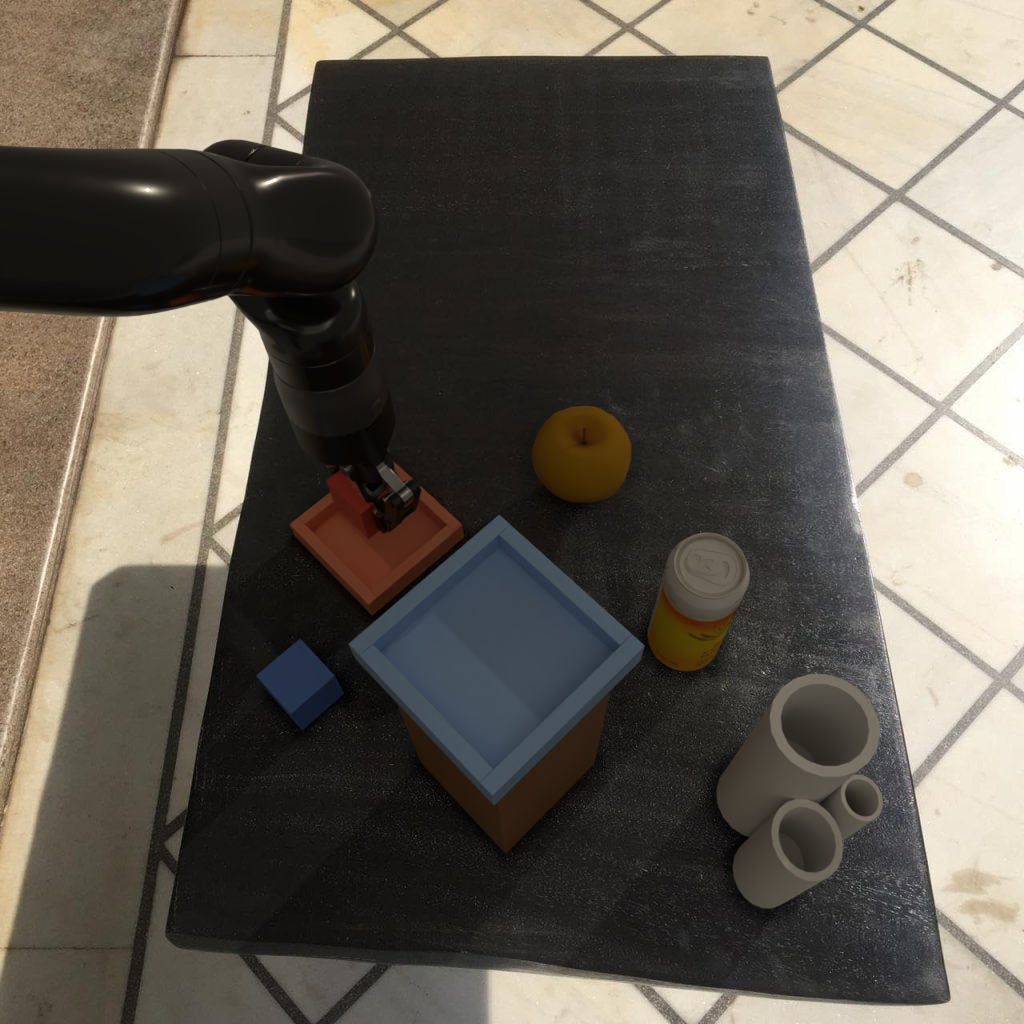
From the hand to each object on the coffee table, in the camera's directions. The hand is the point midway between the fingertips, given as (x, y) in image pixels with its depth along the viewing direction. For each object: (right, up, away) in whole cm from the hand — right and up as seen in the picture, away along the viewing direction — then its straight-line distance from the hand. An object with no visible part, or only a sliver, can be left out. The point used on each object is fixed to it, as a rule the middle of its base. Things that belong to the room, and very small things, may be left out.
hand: (370, 505), depth 84 cm
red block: (0, 0, 0) cm, 0 cm away
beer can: (+27, -12, 0) cm, 29 cm away
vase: (+32, -25, -8) cm, 42 cm away
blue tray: (+12, -21, -5) cm, 24 cm away
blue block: (-5, -16, -2) cm, 17 cm away
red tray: (0, -3, +5) cm, 6 cm away
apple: (+19, +2, +7) cm, 20 cm away
